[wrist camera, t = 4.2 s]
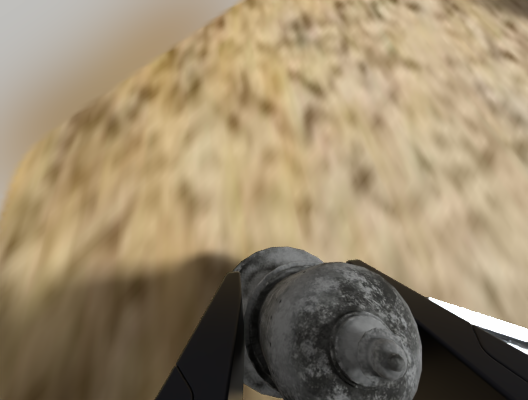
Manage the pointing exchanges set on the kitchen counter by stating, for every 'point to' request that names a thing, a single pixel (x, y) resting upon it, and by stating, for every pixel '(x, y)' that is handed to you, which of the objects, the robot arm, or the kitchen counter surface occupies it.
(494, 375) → the robot arm
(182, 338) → the kitchen counter surface
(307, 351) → the dark grey tall piece
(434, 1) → the kitchen counter surface
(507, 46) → the kitchen counter surface
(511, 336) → the rail
